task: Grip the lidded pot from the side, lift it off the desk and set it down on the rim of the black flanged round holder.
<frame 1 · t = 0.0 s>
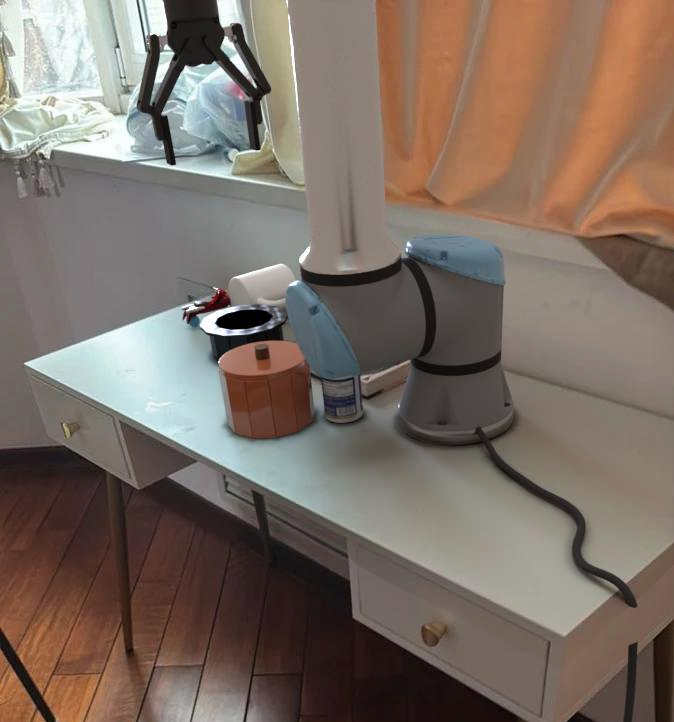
hand: (214, 156, 130), 28 cm above the table, tool pointing down, fingers open, 13 cm apart
pill bottle: (344, 416, 119), on the table
hoverbike: (217, 322, 154), on the table, touching mug
mug: (272, 319, 153), on the table, touching hoverbike
black flanged round holder: (249, 352, 141), on the table
lidded pot: (271, 418, 120), on the table
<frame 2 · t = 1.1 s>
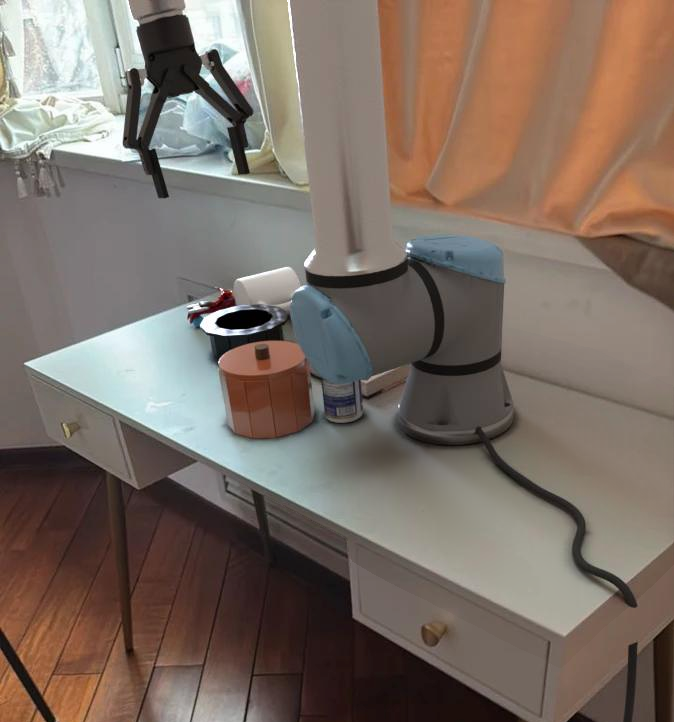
hand: (204, 185, 128), 25 cm above the table, tool pointing down, fingers open, 13 cm apart
hoverbike: (222, 322, 154), on the table, touching mug
mug: (276, 322, 151), on the table, touching hoverbike
everything else where it was.
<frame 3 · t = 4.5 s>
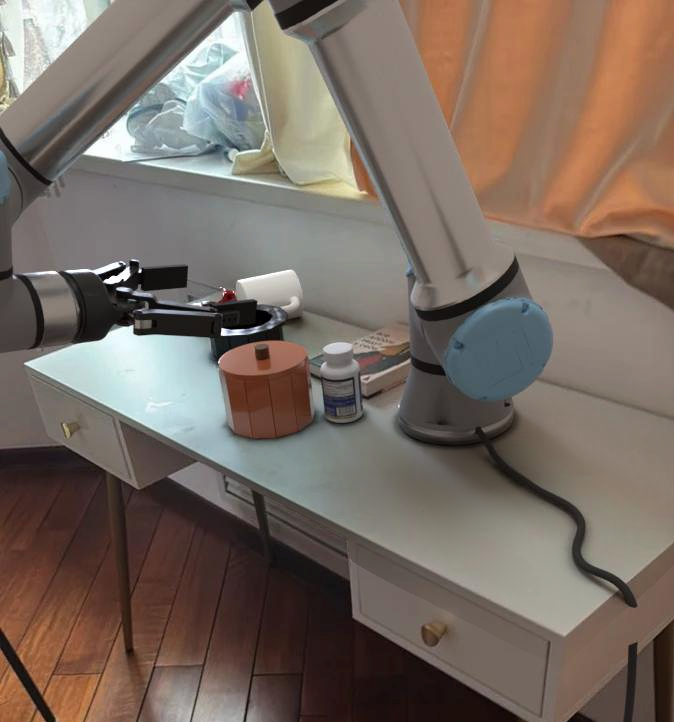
hand: (219, 293, 105), 19 cm above the table, tool horizontal, fingers open, 13 cm apart
mug: (276, 325, 150), on the table, touching hoverbike
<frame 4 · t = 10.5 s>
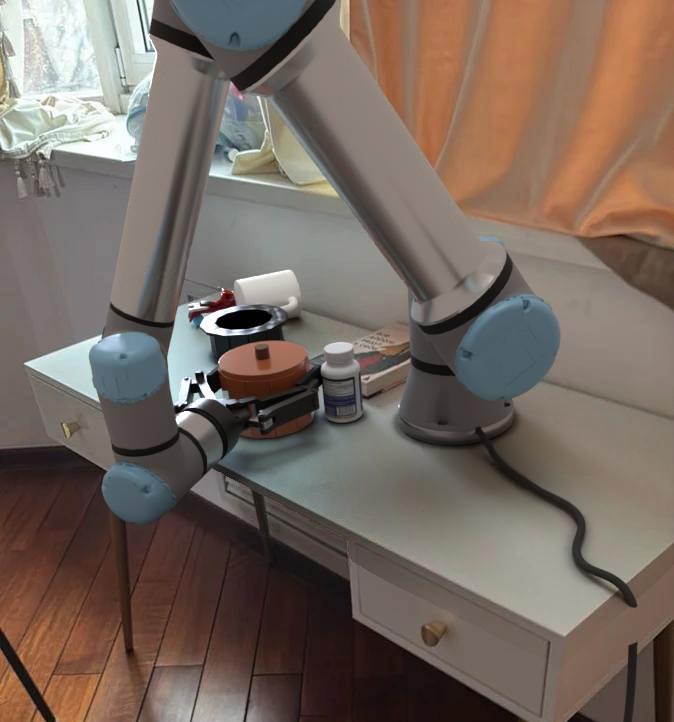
hand: (275, 369, 118), 6 cm above the table, tool horizontal, fingers open, 13 cm apart
pill bottle: (344, 416, 119), on the table, touching gripper
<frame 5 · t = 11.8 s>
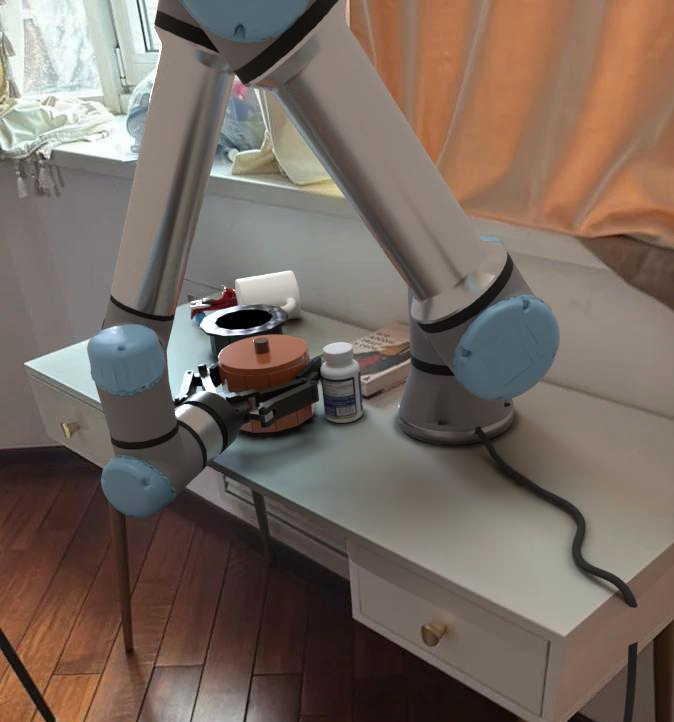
hand: (276, 362, 118), 7 cm above the table, tool horizontal, fingers closed on lidded pot, 12 cm apart
pill bottle: (344, 416, 119), on the table
hoverbike: (225, 320, 154), on the table, touching mug
lidded pot: (271, 412, 119), point 1 cm above the table, touching gripper
everything else where it was.
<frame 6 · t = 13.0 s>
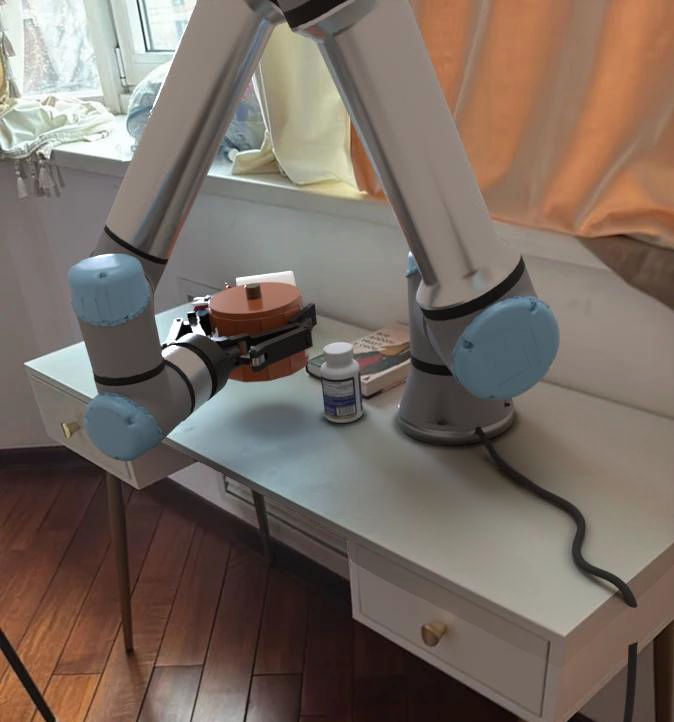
hand: (269, 311, 114), 14 cm above the table, tool horizontal, fingers closed on lidded pot, 12 cm apart
hoverbike: (227, 318, 155), on the table, touching mug
mug: (271, 325, 150), on the table, touching black flanged round holder, hoverbike
lidded pot: (264, 363, 115), point 8 cm above the table, touching gripper
everything else where it was.
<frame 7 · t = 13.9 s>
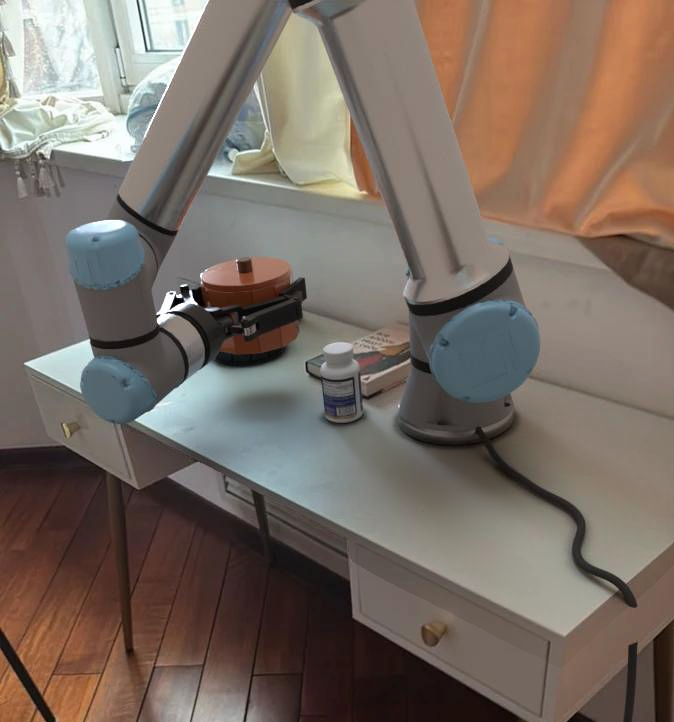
hand: (260, 285, 117), 16 cm above the table, tool horizontal, fingers closed on lidded pot, 12 cm apart
hoverbike: (229, 317, 156), on the table, touching mug
mug: (269, 326, 150), on the table, touching hoverbike
lidded pot: (255, 337, 118), point 10 cm above the table, touching gripper
everything else where it was.
when the fingers open (11 cm above the table, at t = 18.6 s): lidded pot stays where it is, resting on black flanged round holder.
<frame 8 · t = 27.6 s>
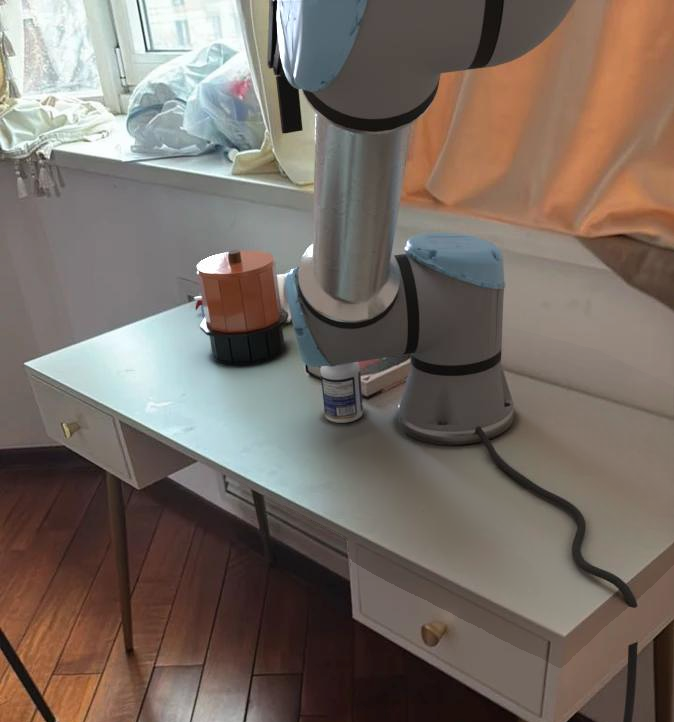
hand: (312, 138, 109), 33 cm above the table, tool pointing down, fingers open, 13 cm apart
hoverbike: (229, 315, 157), on the table, touching mug
mug: (261, 327, 150), on the table, touching hoverbike
lidded pot: (244, 319, 137), point 5 cm above the table, touching black flanged round holder
everything else where it was.
at the end: lidded pot 0.1 cm off-centre on the black flanged round holder, point 5.5 cm above the black flanged round holder's base; lidded pot tilted 0°; the gripper is holding nothing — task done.
